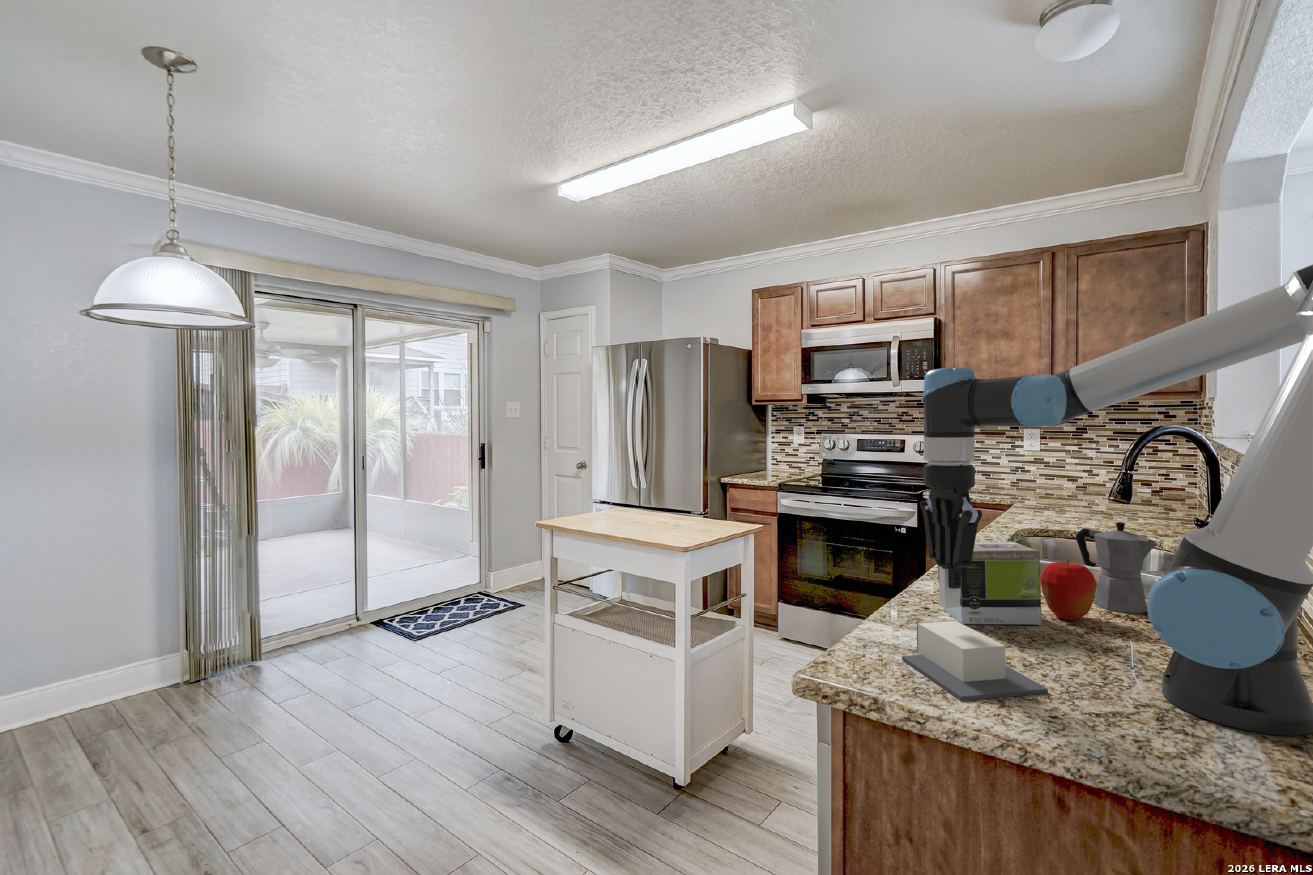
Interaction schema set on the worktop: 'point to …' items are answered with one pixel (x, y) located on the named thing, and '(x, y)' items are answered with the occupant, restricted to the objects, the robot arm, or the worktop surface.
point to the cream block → (961, 650)
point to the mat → (976, 682)
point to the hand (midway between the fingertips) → (949, 606)
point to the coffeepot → (1118, 567)
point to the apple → (1068, 589)
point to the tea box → (1000, 586)
